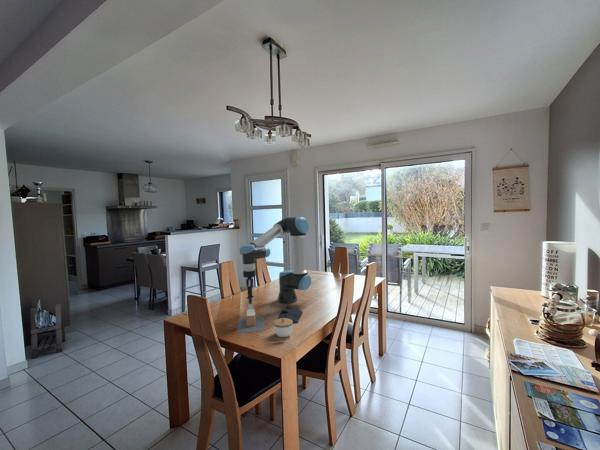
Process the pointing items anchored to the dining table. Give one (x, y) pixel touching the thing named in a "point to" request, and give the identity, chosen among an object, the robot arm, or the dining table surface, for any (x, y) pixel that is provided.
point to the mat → (244, 328)
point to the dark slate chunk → (291, 313)
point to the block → (250, 317)
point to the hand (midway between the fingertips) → (250, 308)
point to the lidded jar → (283, 327)
